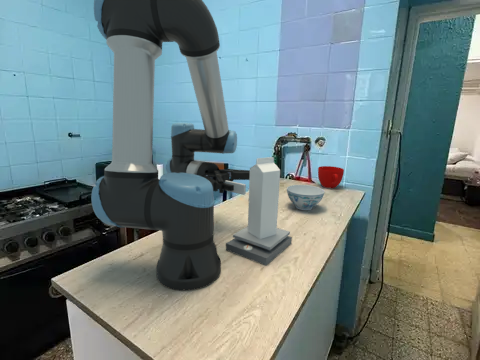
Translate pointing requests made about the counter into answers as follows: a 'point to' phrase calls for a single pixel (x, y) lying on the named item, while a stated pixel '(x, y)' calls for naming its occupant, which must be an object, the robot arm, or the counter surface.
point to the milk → (263, 198)
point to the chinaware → (305, 196)
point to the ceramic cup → (330, 176)
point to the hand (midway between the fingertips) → (258, 184)
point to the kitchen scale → (259, 245)
